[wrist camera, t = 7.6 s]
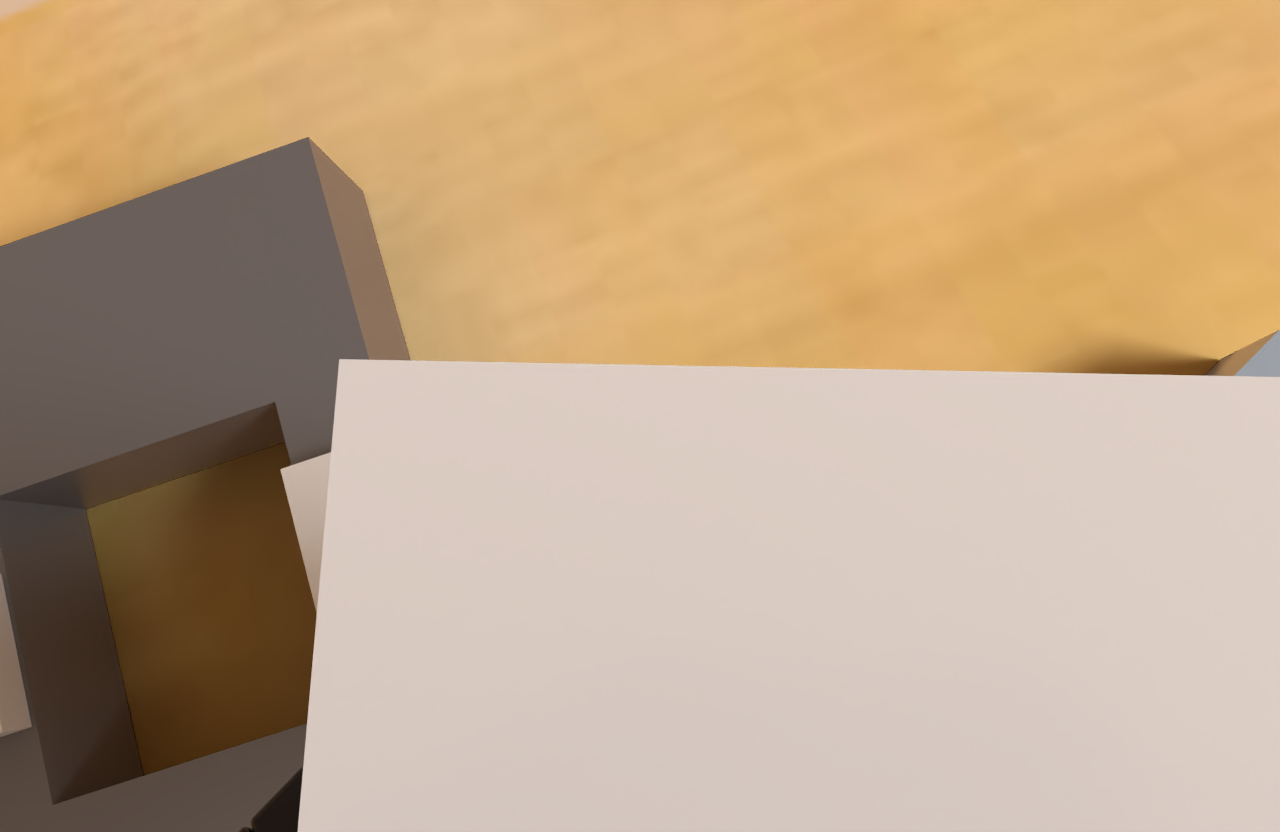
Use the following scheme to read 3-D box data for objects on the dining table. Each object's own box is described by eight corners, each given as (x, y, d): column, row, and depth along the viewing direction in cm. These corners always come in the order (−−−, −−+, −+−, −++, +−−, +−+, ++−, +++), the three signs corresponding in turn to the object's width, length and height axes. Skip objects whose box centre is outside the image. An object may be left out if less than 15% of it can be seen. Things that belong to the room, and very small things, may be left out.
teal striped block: (943, 847, 15) (1707, 1920, 3) (642, 826, 15) (208, 1662, 3) (943, 541, 15) (1565, 365, 3) (654, 530, 16) (326, 344, 4)
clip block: (564, 907, 22) (523, 975, 18) (106, 1048, 22) (-26, 1141, 18) (362, 191, 25) (290, 120, 21) (-38, 331, 25) (-178, 286, 21)
